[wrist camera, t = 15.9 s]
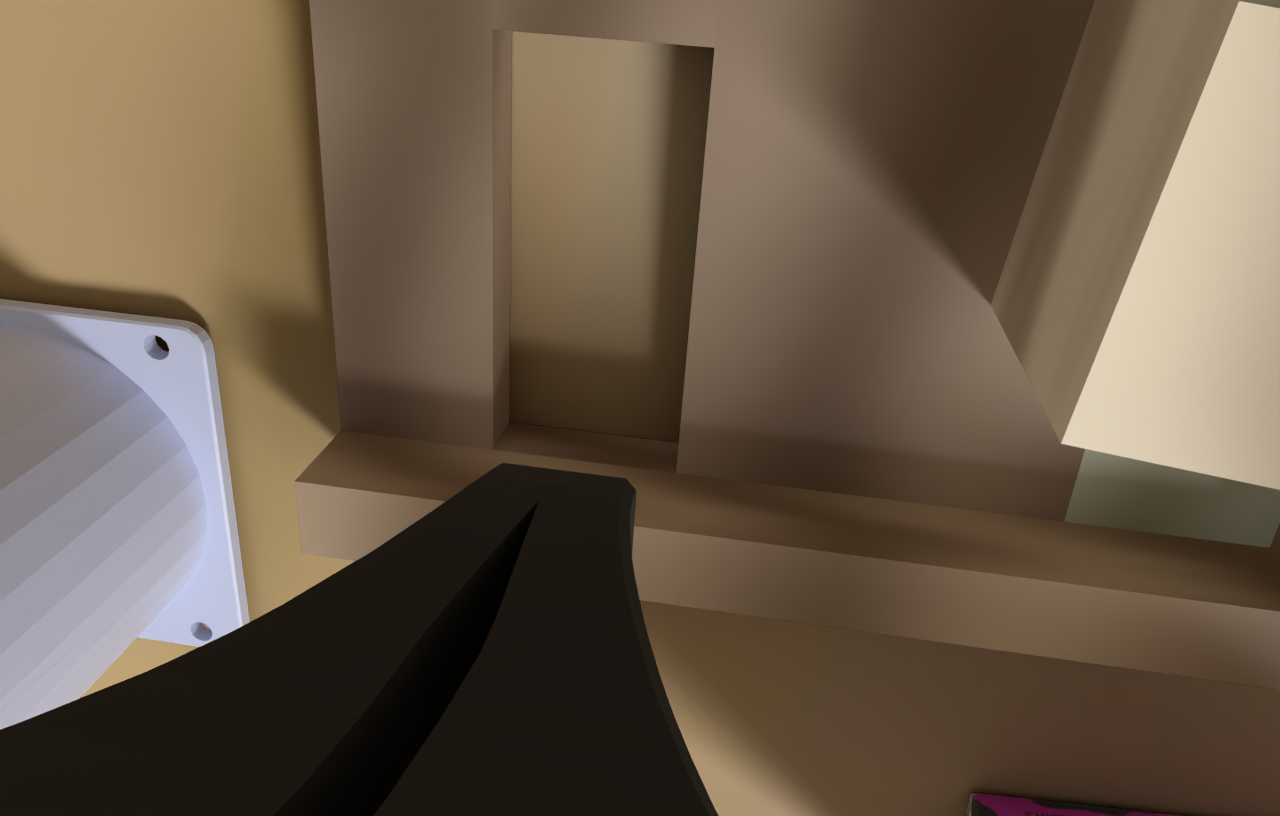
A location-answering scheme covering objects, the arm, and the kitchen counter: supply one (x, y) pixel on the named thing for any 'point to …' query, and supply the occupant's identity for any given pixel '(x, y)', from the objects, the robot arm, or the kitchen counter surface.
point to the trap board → (777, 334)
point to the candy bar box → (1040, 808)
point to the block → (1159, 242)
